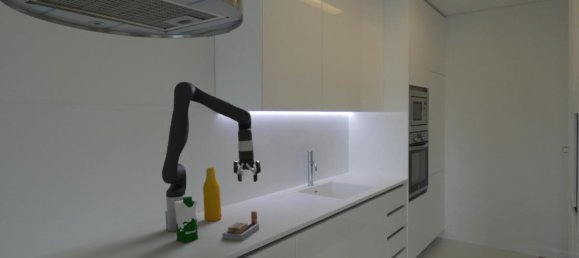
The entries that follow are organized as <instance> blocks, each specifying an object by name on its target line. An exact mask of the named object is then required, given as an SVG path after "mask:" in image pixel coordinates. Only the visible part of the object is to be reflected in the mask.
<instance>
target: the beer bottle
mask: <svg viewBox="0 0 579 258" xmlns="http://www.w3.org/2000/svg"><path fill="white" fill-rule="evenodd" d="M205 174H206V177H205V180H204V183H203V186H202V187H203V188H202V189H203V190H202V191H203V212H204V221H205V222H208V223H214V222H218V221H221V220H222V199H221V198H222V197H221V185H220V183H219V181H218V179H217V175H216V168H215V166H209V167H206V173H205Z"/></svg>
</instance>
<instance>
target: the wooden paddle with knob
mask: <svg viewBox="0 0 579 258" xmlns="http://www.w3.org/2000/svg"><path fill="white" fill-rule="evenodd" d="M250 215H251V216H250V218H251V220H250V222H251V223H249V224H248V223H247V222H237V221H236V222H235V223H233V224H231V225H229V226H228V227H227V230H228V233H234V234H242V233H244V232H245V231H247V230H248V229H250V228H251V227H252V226H254V225H255V224H258V212H257V211H256V210H253V211H251V212H250Z"/></svg>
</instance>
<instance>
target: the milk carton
mask: <svg viewBox="0 0 579 258" xmlns="http://www.w3.org/2000/svg"><path fill="white" fill-rule="evenodd" d="M197 202H198V201H197V200H194V199H193V196H185V197H184V198H183V200H181V201H176V202H174V205H175V211H176V228H177V231H176V241H178V242H181V243H183V244H186V243H189V242H193V241H197V240H198V239H199V236H198V219H197V216H198V215H197V207H198V206H197V205H198V203H197Z"/></svg>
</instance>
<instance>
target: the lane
mask: <svg viewBox="0 0 579 258" xmlns="http://www.w3.org/2000/svg"><path fill="white" fill-rule="evenodd" d="M259 229H260V224H259V223H257V224H255V225H252V226H250V227H249V228H248V230H247V231H245V232H244V233H242V234H234V233H228V229H227V230H225V231H224V232H223V233H221V236H222V239H223V240H232V241H244V240H246V239H247V238H248V237H250V236H251V235H253V234H254V233H255V232H257V231H258V230H259ZM256 230H257V231H256ZM252 233H253V234H252Z"/></svg>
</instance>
